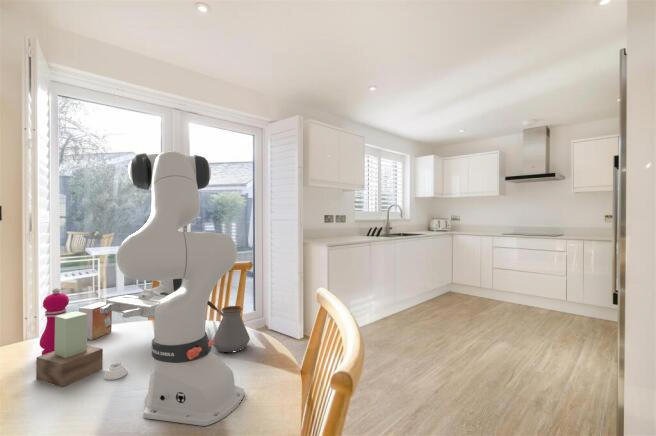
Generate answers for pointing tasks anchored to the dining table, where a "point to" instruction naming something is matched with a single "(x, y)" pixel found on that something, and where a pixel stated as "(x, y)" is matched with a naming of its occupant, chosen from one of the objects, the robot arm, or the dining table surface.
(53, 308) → the pepper mill
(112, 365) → the white hollow cone
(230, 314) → the coffee pot
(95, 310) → the small box
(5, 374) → the dining table surface
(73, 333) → the sage block
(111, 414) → the dining table surface
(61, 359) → the walnut block
